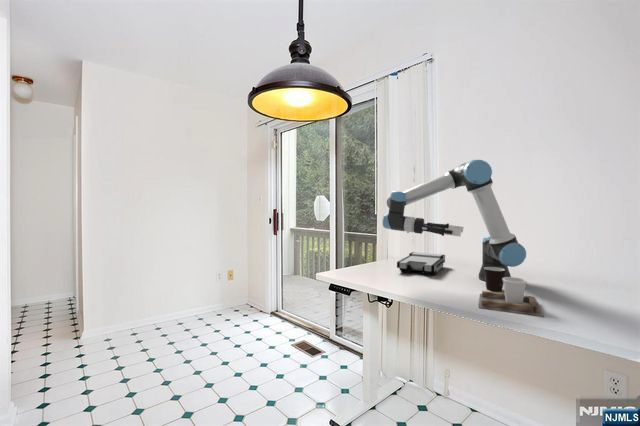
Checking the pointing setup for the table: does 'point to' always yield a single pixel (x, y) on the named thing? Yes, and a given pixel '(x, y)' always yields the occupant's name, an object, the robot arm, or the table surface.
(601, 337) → the table surface
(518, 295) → the dixie cup
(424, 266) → the game console
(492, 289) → the coffee mug
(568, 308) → the table surface
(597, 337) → the table surface
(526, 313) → the tray with wooden rails
